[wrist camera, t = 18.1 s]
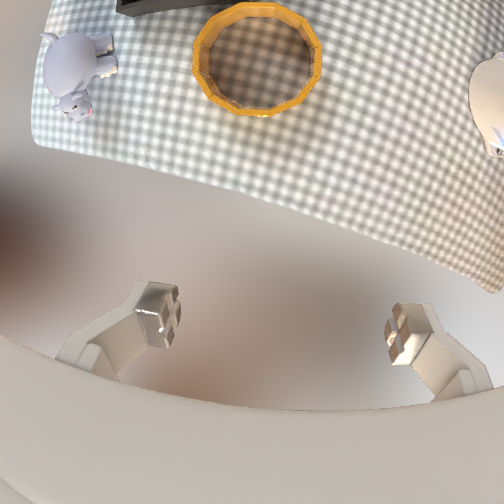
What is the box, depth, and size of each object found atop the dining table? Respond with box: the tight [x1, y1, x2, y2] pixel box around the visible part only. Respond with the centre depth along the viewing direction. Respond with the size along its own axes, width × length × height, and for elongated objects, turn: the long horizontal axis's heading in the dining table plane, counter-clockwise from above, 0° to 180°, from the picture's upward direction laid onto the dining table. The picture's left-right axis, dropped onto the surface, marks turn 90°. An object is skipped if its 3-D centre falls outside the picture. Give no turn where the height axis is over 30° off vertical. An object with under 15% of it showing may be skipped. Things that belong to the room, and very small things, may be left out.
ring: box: [192, 2, 322, 117], centre depth 28 cm, size 15×15×5 cm
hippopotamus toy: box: [40, 33, 117, 122], centre depth 27 cm, size 11×15×10 cm
